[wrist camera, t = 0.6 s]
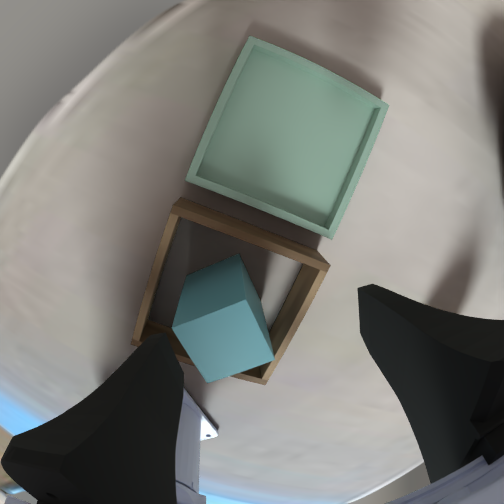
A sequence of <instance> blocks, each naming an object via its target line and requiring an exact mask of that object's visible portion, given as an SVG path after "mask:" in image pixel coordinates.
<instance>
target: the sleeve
mask: <svg viewBox="0 0 504 504" xmlns="http://www.w3.org/2000/svg"><path fill="white" fill-rule="evenodd" d="M181 217H182V218H185V219H188V220H190V221H193V222H196V223H198V224H201V225H204V226H206V227H209V228H212V229H214V230H217V231H219V232H222V233H225V234H227V235H230V236H233V237H235V238H238V239H241V240H243V241H246V242H248V243H251V244H254V245H256V246H259V247H262V248H264V249H267V250H269V251H272V252H275V253H277V254H280V255H283V256H285V257H288V258H290V259H293V260H296V261H298V262H301V263H303V266H302V268H301V270H300V272H299V274H298V276H297V279H296V281H295V283H294V285H293V287H292V289H291V291H290V293H289V295H288V297H287V299H286V301H285V303H284V305H283V307H282V309H281V311H280V313H279V315H278V317H277V319H276V321H275V323H274V324H273V326H272V328H271V330H270V332H269V337H270V341H271V345H272V349H273V353H274V357H275V360H273V361H270V362H268V363H265V364H262V365H260V366H257V367H254V368H251V369H248V370H246V371H243V372H240V373H237V374H234V375H231V377H235V378H238V379H242V380H246V381H250V382H254V383H258V384H262V385H266V383H267V381H268V380H269V378H270V376H271V375H272V373H273V371H274V369H275V368H276V366H277V364H278V363H279V361H280V359H281V357H282V356H283V354H284V352H285V350H286V349H287V347H288V345H289V343H290V341H291V340H292V338H293V336H294V334H295V332H296V331H297V329H298V327H299V325H300V323H301V321H302V320H303V318H304V316H305V314H306V312H307V310H308V308H309V306H310V305H311V303H312V301H313V299H314V297H315V295H316V293H317V291H318V289H319V287H320V285H321V283H322V281H323V279H324V277H325V275H326V273H327V271H328V269H329V267H330V264H329V263H328V262H327V261H326V260H325V259H324V258H323V257H322V255H321V254H320V253H319V252H318V251H317V250H314V249H312V248H309V247H307V246H304V245H302V244H299V243H297V242H294V241H292V240H289V239H287V238H284V237H282V236H279V235H277V234H274V233H272V232H269V231H267V230H264V229H262V228H259V227H257V226H254V225H251V224H249V223H246V222H244V221H241V220H239V219H236V218H233V217H231V216H228V215H226V214H223V213H220V212H218V211H215V210H213V209H210V208H207V207H205V206H202V205H199V204H197V203H194V202H191V201H189V200H186V199H183V198H180V199H179V200H178V201H177V202H175V203H174V204H173V207H172V210H171V212H170V215H169V218H168V221H167V224H166V227H165V230H164V233H163V236H162V239H161V242H160V245H159V248H158V251H157V254H156V257H155V260H154V263H153V267H152V270H151V273H150V276H149V280H148V283H147V286H146V290H145V293H144V297H143V300H142V304H141V307H140V311H139V315H138V318H137V322H136V326H135V330H134V333H133V337H132V341H131V344H132V345H134V346H137V347H139V346H140V345H141V344H142V343H143V342H144V341H145V340H146V339H147V338H148V337H149V336H150V335H154V334H159V333H166V335H167V337H168V340H169V342H170V344H171V346H172V349H173V351H174V353H175V355H176V358H177V360H178V361H180V362H183V363H186V364H190V365H193V366H195V364H194V363H193V361H192V360H191V358H190V356H189V355H188V353H187V352H186V350H185V349H184V347H183V346H182V344H181V342H180V341H179V339H178V338H177V336H176V334H175V333H174V331H173V329H172V328H170V327H167V326H164V325H162V324H159V323H156V322H153V321H151V320H148V317H149V314H150V311H151V307H152V304H153V301H154V297H155V294H156V291H157V288H158V285H159V281H160V278H161V275H162V272H163V269H164V266H165V263H166V260H167V257H168V254H169V251H170V248H171V245H172V242H173V239H174V237H175V234H176V231H177V228H178V225H179V222H180V220H181Z"/></svg>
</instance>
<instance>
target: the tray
mask: <svg viewBox="0 0 504 504" xmlns="http://www.w3.org/2000/svg"><path fill="white" fill-rule="evenodd" d="M388 107H389V105H388V104H387V103H385V102H383V101H382V100H380V99H379V98H377V97H375V96H374V95H372V94H370V93H369V92H367V91H365V90H364V89H362V88H360V87H359V86H357V85H355V84H353V83H352V82H350V81H348V80H346V79H344V78H342V77H341V76H339V75H337V74H335V73H333V72H331V71H329V70H327V69H325V68H323V67H321V66H319V65H317V64H315V63H313V62H311V61H309V60H307V59H305V58H303V57H300V56H298V55H296V54H294V53H292V52H289V51H287V50H285V49H282V48H280V47H278V46H275V45H273V44H270V43H268V42H265V41H263V40H260V39H258V38H255V37H252V36H249V38H248V40H247V42H246V44H245V46H244V47H243V49H242V51H241V53H240V55H239V57H238V59H237V61H236V64H235V66H234V68H233V70H232V72H231V74H230V76H229V78H228V80H227V82H226V84H225V87H224V89H223V91H222V93H221V95H220V97H219V100H218V102H217V104H216V106H215V108H214V111H213V113H212V115H211V118H210V120H209V122H208V124H207V127H206V129H205V132H204V134H203V136H202V139H201V141H200V143H199V146H198V148H197V151H196V153H195V156H194V158H193V161H192V163H191V166H190V168H189V171H188V173H187V176H186V179H185V181H187V182H190V183H193V184H195V185H198V186H201V187H203V188H206V189H209V190H211V191H214V192H216V193H219V194H222V195H224V196H227V197H229V198H232V199H234V200H237V201H240V202H242V203H245V204H247V205H250V206H252V207H255V208H257V209H260V210H262V211H265V212H267V213H270V214H272V215H274V216H277V217H279V218H282V219H284V220H287V221H289V222H291V223H294V224H296V225H299V226H301V227H303V228H306V229H308V230H311V231H313V232H315V233H318V234H320V235H322V236H325V237H327V238H329V239H333V237H334V234H335V232H336V230H337V228H338V226H339V224H340V221H341V219H342V217H343V215H344V213H345V210H346V208H347V206H348V204H349V202H350V199H351V197H352V195H353V193H354V190H355V188H356V186H357V183H358V181H359V179H360V176H361V174H362V172H363V169H364V167H365V165H366V162H367V160H368V157H369V155H370V153H371V150H372V148H373V145H374V143H375V140H376V138H377V135H378V133H379V130H380V128H381V125H382V123H383V120H384V118H385V115H386V112H387V110H388Z"/></svg>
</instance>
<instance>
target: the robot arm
mask: <svg viewBox="0 0 504 504" xmlns="http://www.w3.org/2000/svg"><path fill="white" fill-rule="evenodd" d="M358 302H359V319H360V333H361V336H362V338H363V340H364V342H365V345H366V347H367V349H368V351H369V353H370V355H371V356H372V358H373V359H374V361H375V362H376V364H377V366H378V367H379V369H380V370H381V372H382V373H383V375H384V376H385V378H386V379H387V381H388V383H389V384H390V386H391V387H392V389H393V390H394V392H395V394H396V395H397V397H398V399H399V401H400V403H401V405H402V407H403V409H404V411H405V413H406V416H407V418H408V420H409V422H410V425H411V427H412V430H413V432H414V435H415V437H416V440H417V442H418V445H419V448H420V451H421V453H422V456H423V459H424V462H425V465H426V469H427V472H428V475H429V479H430V482H431V484H430V485H428V486H425V487H423V488H421V489H419V490H417V491H414V492H412V493H410V494H408V495H405V496H403V497H401V498H398V499H395V500H393V501H391V502H388V503H385V504H504V320H492V319H483V318H475V317H469V316H464V315H459V314H455V313H451V312H447V311H443V310H440V309H436V308H433V307H431V306H428V305H425V304H422V303H419V302H417V301H414V300H411V299H409V298H407V297H404V296H402V295H399V294H397V293H395V292H392V291H390V290H388V289H385V288H383V287H380V286H377V285H375V284H370V285H367V286H363V287H360V288H358ZM216 436H218V431H217V429H216V428H215V427H214V426H213V424H212V423H211V422H210V421H209V420H208V418H207V417H206V416H205V415H204V413H203V412H202V411H201V409H200V408H199V407H198V406H197V404H196V403H195V402H194V400H193V399H192V398H191V396H190V395H189V394H188V392H187V391H186V390H185V388H184V373H183V370H182V368H181V366H180V364H179V362H178V360H177V358H176V355H175V353H174V351H173V349H172V346H171V344H170V342H169V340H168V337H167V335H166V333H159V334H154V335H150V336H149V337H148V338H147V339H146V340H145V341H144V342H143V343H142V344H141V345H140V346H139V347H138V348H137V349H136V350H135V351H134V352H133V353H132V354H131V355H130V357H129V358H128V359H127V360H126V361H125V362H124V363H123V364H122V365H121V366H120V367H119V368H118V369H117V370H116V371H115V372H114V373H113V374H112V375H111V376H110V377H109V378H108V379H107V380H106V381H105V382H104V383H103V384H102V385H101V386H99V387H98V388H97V389H96V390H95V391H94V392H92V393H91V394H90V395H89V396H87V397H86V398H85V399H83V400H82V401H81V402H79V403H78V404H76V405H75V406H73V407H72V408H70V409H69V410H67V411H66V412H64V413H63V414H61V415H59V416H58V417H56V418H54V419H52V420H50V421H48V422H46V423H44V424H42V425H40V426H38V427H36V428H34V429H31V430H29V431H26V432H24V433H21V434H18V435H15V436H13V437H12V439H11V441H10V443H9V445H8V447H7V449H6V451H5V453H4V455H3V457H2V459H1V464H2V466H3V469H4V470H5V471H6V473H7V474H8V475H9V476H10V477H11V478H12V479H13V480H14V481H15V482H16V483H17V484H19V485H20V486H21V487H22V488H23V489H24V490H26V491H27V492H28V493H29V494H31V495H32V496H33V497H34V498H36V499H37V500H38V501H37V504H206V496H204V495H200V494H199V464H200V441H201V440H205V439H209V438H213V437H216ZM4 504H30V503H28V502H26V501H23V500H20V499H17V498H15V497H12V496H7V498H6V501H5V503H4Z"/></svg>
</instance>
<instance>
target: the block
mask: <svg viewBox="0 0 504 504" xmlns="http://www.w3.org/2000/svg"><path fill="white" fill-rule="evenodd" d="M172 329H173V331H174V333H175V334H176V336H177V338H178V339H179V341H180V342H181V344H182V346H183V347H184V349H185V350H186V352H187V353H188V355H189V356H190V358H191V360H192V361H193V363H194V364H195V366H196V367H197V369H198V370H199V372H200V373H201V375H202V376H203V378H204V379H205V381H206V382H207V383H210V382H213V381H216V380H219V379H222V378H225V377H228V376H231V375H234V374H237V373H240V372H243V371H246V370H248V369H251V368H254V367H257V366H260V365H262V364H265V363H268V362H270V361H273V360H275V357H274V353H273V349H272V345H271V341H270V337H269V333H268V329H267V325H266V321H265V317H264V312H263V308H262V304H261V301H260V299H259V296H258V294H257V292H256V290H255V288H254V285H253V283H252V281H251V279H250V277H249V274H248V272H247V270H246V268H245V265H244V263H243V261H242V259H241V257H240V254H237V255H234V256H232V257H230V258H227V259H225V260H222V261H220V262H218V263H215V264H213V265H210V266H208V267H206V268H203V269H201V270H198V271H196V272H194V273H191V274H189V275H187V276H186V279H185V282H184V286H183V289H182V293H181V296H180V300H179V303H178V307H177V310H176V314H175V318H174V321H173V325H172Z"/></svg>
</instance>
